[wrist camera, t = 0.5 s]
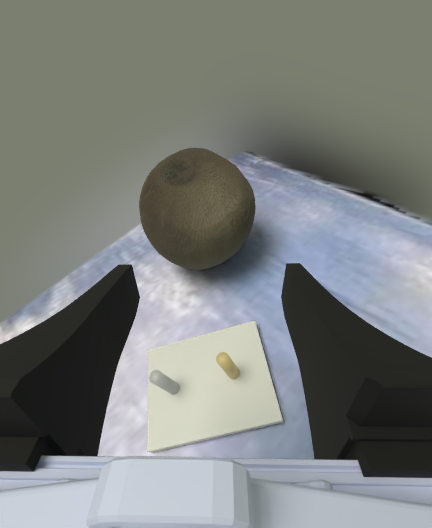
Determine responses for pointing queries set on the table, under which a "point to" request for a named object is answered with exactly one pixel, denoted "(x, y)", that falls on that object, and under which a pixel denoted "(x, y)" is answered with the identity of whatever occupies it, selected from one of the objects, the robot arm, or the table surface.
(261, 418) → the pin board
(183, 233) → the cantaloupe
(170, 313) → the table surface
